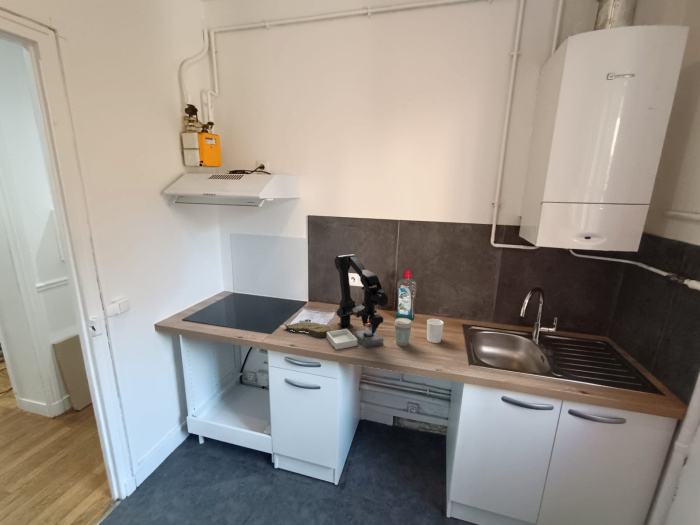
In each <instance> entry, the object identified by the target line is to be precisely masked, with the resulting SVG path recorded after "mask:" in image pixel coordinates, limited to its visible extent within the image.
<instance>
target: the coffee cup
mask: <svg viewBox="0 0 700 525" xmlns="http://www.w3.org/2000/svg"><path fill="white" fill-rule="evenodd" d="M393 324H394V329H395V342H396V345H398V346H400V347H406V346H408V345H409V341H410V337H411V336H410V335H411V330H412V326H413V323H412V320H411V319H409V318H407V317H398V318H396V319H395V321H394V323H393Z"/></svg>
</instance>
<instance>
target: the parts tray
mask: <svg viewBox="0 0 700 525" xmlns="http://www.w3.org/2000/svg"><path fill="white" fill-rule="evenodd" d="M326 339H327V340H328V341H329V343H330V344H331V346H332V347H333V348H334V349H335V350H341V349H346V348H351V347H356V346H358V340H357V339H356V337H355V334H352V332H351V331H350V330H349V329H348V328H341V329H339V330H331V332H327V337H326Z"/></svg>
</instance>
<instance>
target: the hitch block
mask: <svg viewBox="0 0 700 525" xmlns="http://www.w3.org/2000/svg"><path fill="white" fill-rule="evenodd" d="M354 336H355V337H356V339H357V342H358V343H359V344H361V345H362V346H363V347H364V348H370V347H374V346H381V345H384V337H382V335H381V334H379V333H378V332H377V331H375V333H374V334H372V337H368V338H367V337H365V329H362V330H356V331H354Z"/></svg>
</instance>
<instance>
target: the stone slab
mask: <svg viewBox="0 0 700 525" xmlns="http://www.w3.org/2000/svg"><path fill="white" fill-rule="evenodd" d="M284 326H285V329H286V328H287V329H288V330H293V331H295V332H294V333H296V332H299V331H305V332H309V333H310V334H309V335H311V334H312V336H314V337H316V338H323V337H324V338H327V332H331V331H332V329H331V327H330V326H329V325H327V324H324V323H319V322H311V321H300V322H296V323H292V324H288V325H287V324H284ZM287 329H286V330H287ZM288 330H287V331H288Z"/></svg>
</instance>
